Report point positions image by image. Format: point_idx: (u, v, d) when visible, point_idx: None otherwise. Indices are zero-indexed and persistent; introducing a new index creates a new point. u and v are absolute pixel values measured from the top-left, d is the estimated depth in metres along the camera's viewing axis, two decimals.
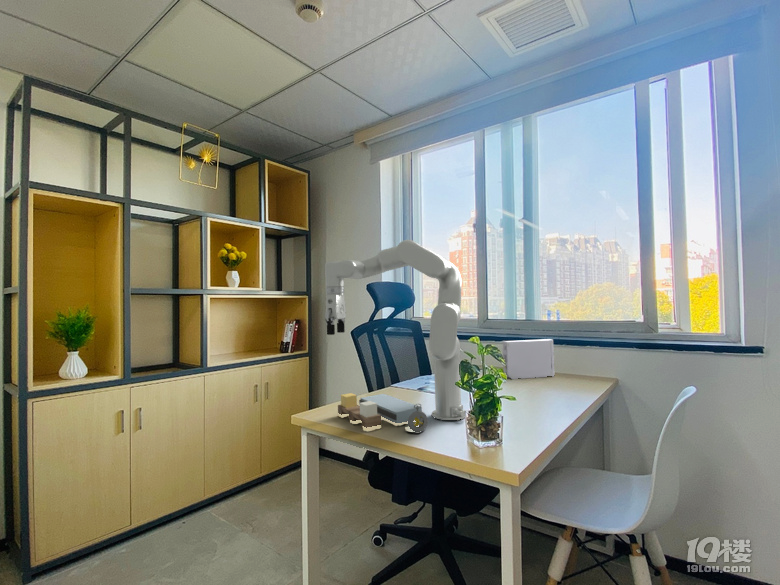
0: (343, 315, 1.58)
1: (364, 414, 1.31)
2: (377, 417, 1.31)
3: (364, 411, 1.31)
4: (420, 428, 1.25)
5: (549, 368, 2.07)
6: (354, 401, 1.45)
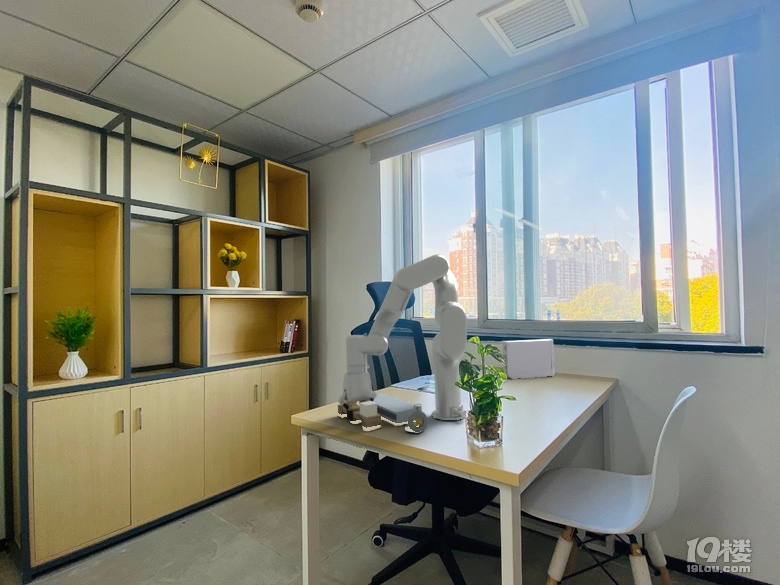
0: None
1: (364, 414, 1.31)
2: (377, 417, 1.31)
3: (364, 411, 1.31)
4: (420, 428, 1.25)
5: (549, 368, 2.07)
6: None
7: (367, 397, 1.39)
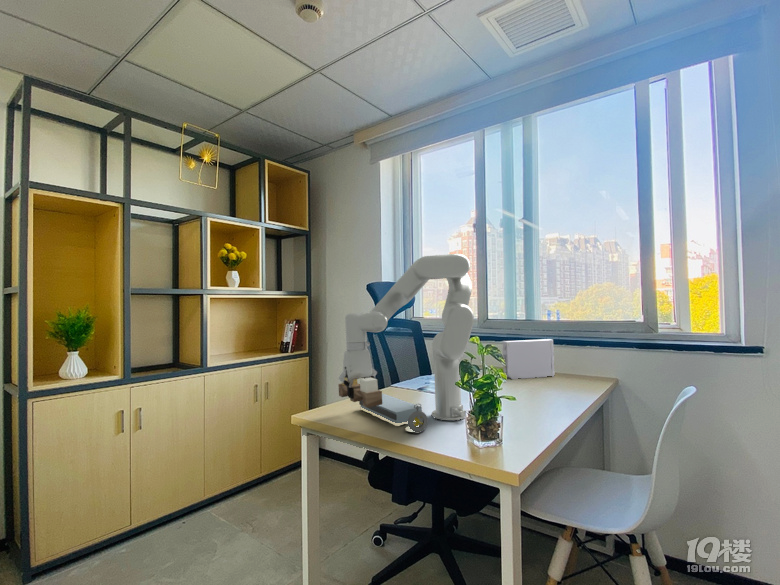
0: None
1: (365, 390, 1.31)
2: (378, 393, 1.31)
3: (364, 387, 1.31)
4: (420, 428, 1.25)
5: (549, 368, 2.07)
6: (354, 379, 1.45)
7: (367, 374, 1.39)
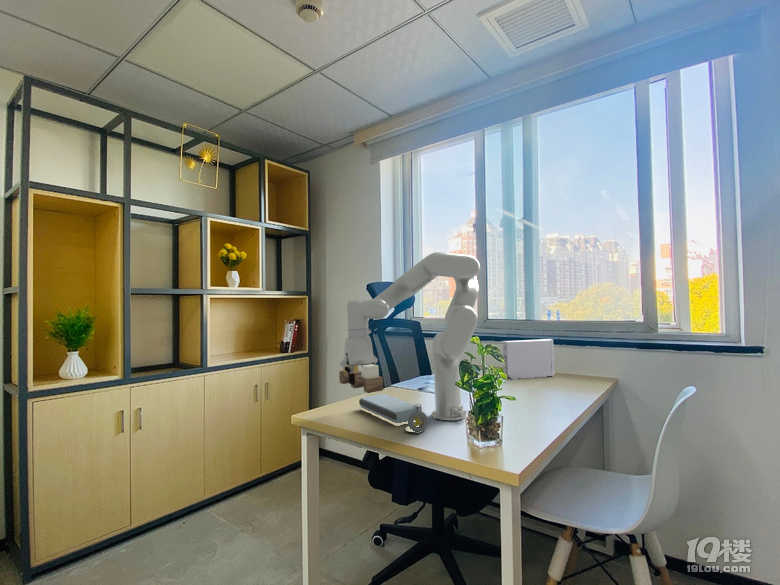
0: None
1: (366, 376, 1.32)
2: (379, 379, 1.32)
3: (366, 373, 1.32)
4: (420, 428, 1.25)
5: (549, 368, 2.07)
6: (355, 366, 1.45)
7: (368, 361, 1.40)
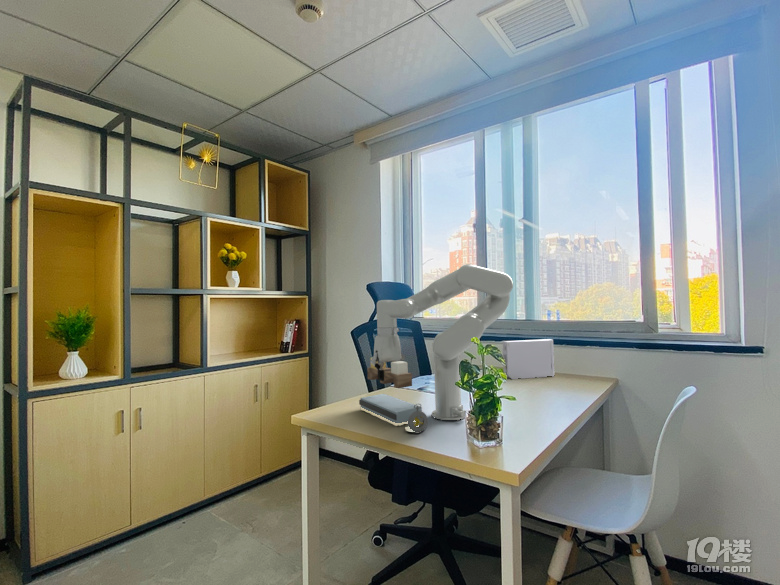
0: None
1: (396, 372, 1.39)
2: (408, 375, 1.39)
3: (395, 369, 1.39)
4: (420, 428, 1.25)
5: (549, 368, 2.07)
6: None
7: (397, 358, 1.47)
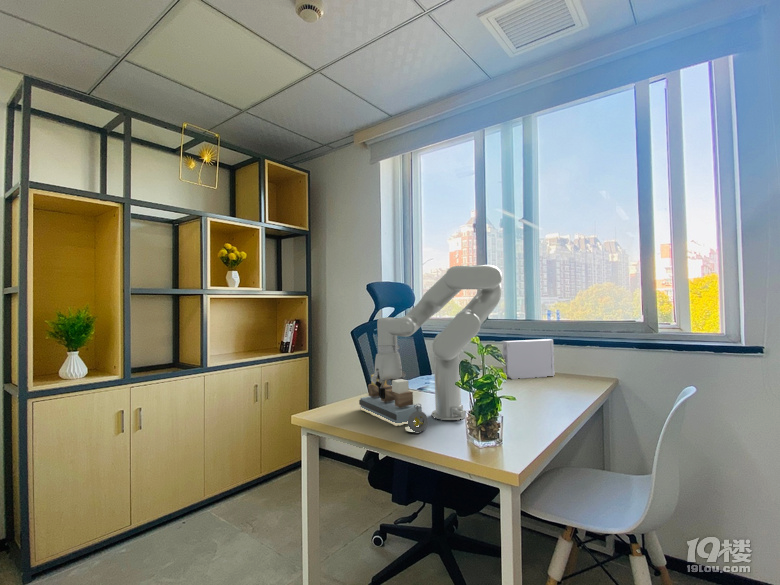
0: None
1: (396, 391, 1.39)
2: (409, 393, 1.38)
3: (396, 388, 1.39)
4: (420, 428, 1.25)
5: (549, 368, 2.07)
6: None
7: (398, 376, 1.47)
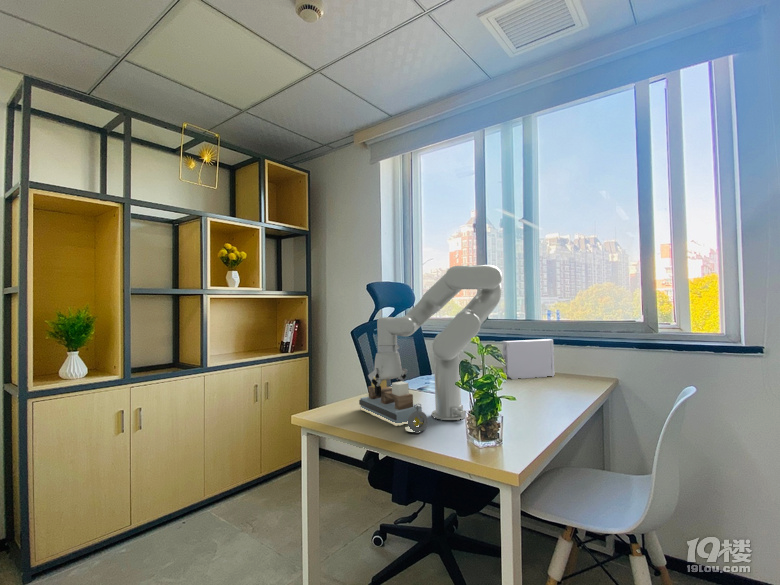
0: None
1: (397, 393, 1.38)
2: (409, 396, 1.38)
3: (396, 390, 1.39)
4: (420, 428, 1.25)
5: (549, 368, 2.07)
6: (384, 382, 1.52)
7: (397, 376, 1.47)
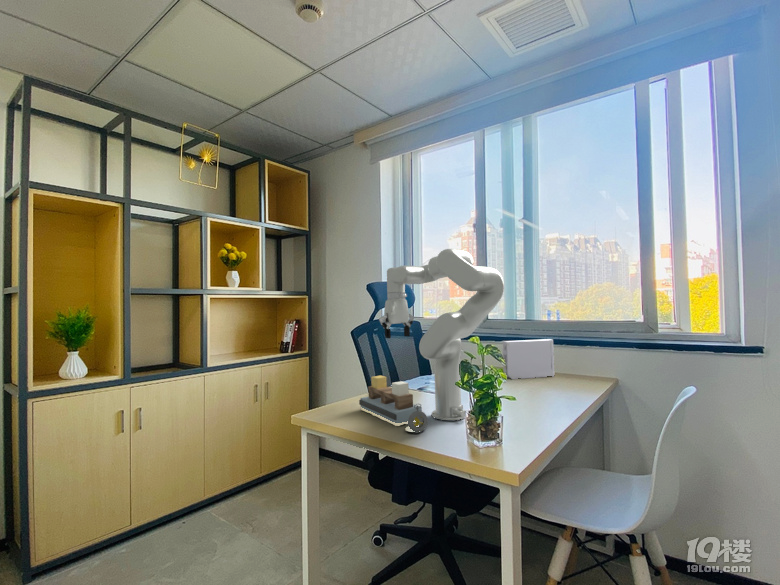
0: None
1: (397, 393, 1.38)
2: (409, 396, 1.38)
3: (396, 390, 1.39)
4: (420, 428, 1.25)
5: (549, 368, 2.07)
6: (384, 382, 1.52)
7: (405, 321, 1.62)
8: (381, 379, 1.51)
